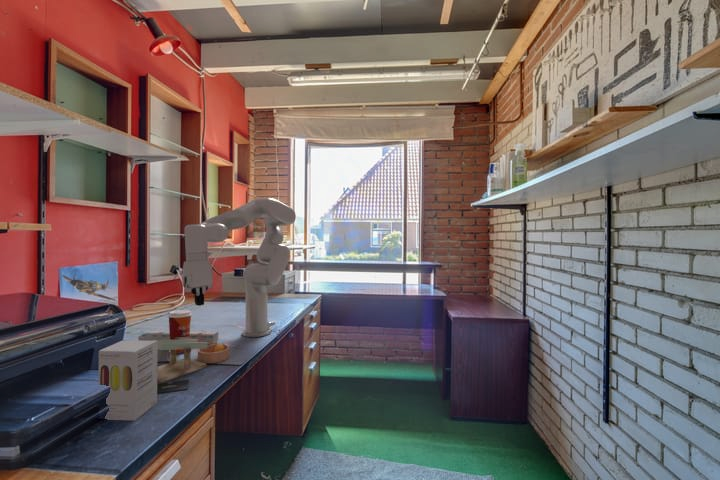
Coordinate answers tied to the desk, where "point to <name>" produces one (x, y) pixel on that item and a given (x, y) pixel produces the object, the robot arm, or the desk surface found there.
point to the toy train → (199, 335)
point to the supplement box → (129, 378)
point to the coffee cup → (179, 325)
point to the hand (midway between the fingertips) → (199, 304)
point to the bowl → (213, 354)
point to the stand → (178, 366)
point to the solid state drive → (172, 386)
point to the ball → (219, 348)
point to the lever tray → (177, 346)
